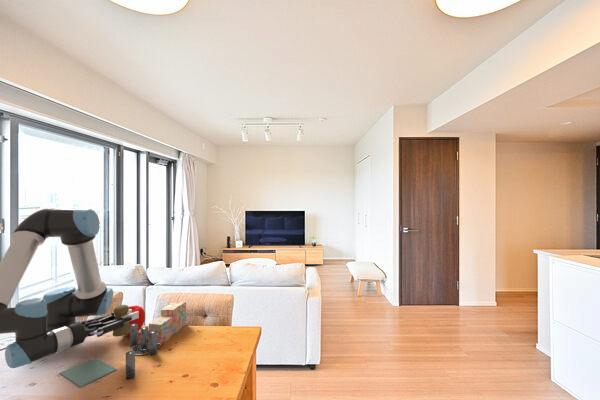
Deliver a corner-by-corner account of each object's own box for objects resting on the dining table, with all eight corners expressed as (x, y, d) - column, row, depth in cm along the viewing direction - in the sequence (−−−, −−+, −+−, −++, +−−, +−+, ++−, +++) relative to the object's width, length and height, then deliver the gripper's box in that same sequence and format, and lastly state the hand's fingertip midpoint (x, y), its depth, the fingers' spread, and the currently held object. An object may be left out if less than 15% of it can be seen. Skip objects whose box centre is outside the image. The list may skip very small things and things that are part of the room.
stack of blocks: (161, 345, 129) (161, 317, 129) (148, 344, 130) (148, 316, 130) (186, 324, 150) (186, 300, 150) (175, 324, 151) (175, 300, 151)
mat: (59, 373, 108) (59, 372, 108) (95, 358, 119) (95, 357, 119) (80, 387, 100) (80, 386, 100) (116, 369, 110) (116, 368, 110)
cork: (121, 337, 114) (121, 309, 114) (108, 335, 115) (108, 308, 115) (133, 330, 120) (133, 303, 120) (121, 328, 121) (120, 302, 121)
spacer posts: (93, 361, 116) (93, 338, 116) (136, 342, 132) (136, 322, 132) (128, 380, 104) (128, 355, 104) (172, 357, 119) (172, 335, 119)
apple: (124, 343, 131) (124, 313, 131) (111, 336, 137) (111, 308, 137) (150, 332, 141) (150, 305, 141) (136, 327, 147) (136, 300, 147)
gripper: (57, 341, 106) (123, 317, 126) (80, 354, 98) (147, 327, 118) (57, 320, 106) (123, 300, 126) (79, 332, 97) (146, 308, 118)
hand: (134, 313), depth 122 cm, fingers closed on cork, 4 cm apart
